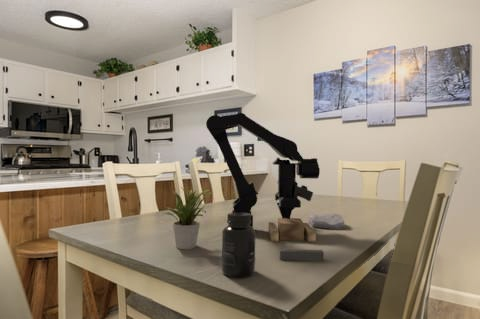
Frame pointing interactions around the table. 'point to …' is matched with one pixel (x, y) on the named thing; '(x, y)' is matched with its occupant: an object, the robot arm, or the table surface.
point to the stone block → (327, 221)
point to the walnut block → (290, 229)
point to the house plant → (187, 220)
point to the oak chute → (308, 232)
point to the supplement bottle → (238, 246)
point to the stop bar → (301, 254)
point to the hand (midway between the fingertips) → (286, 225)
